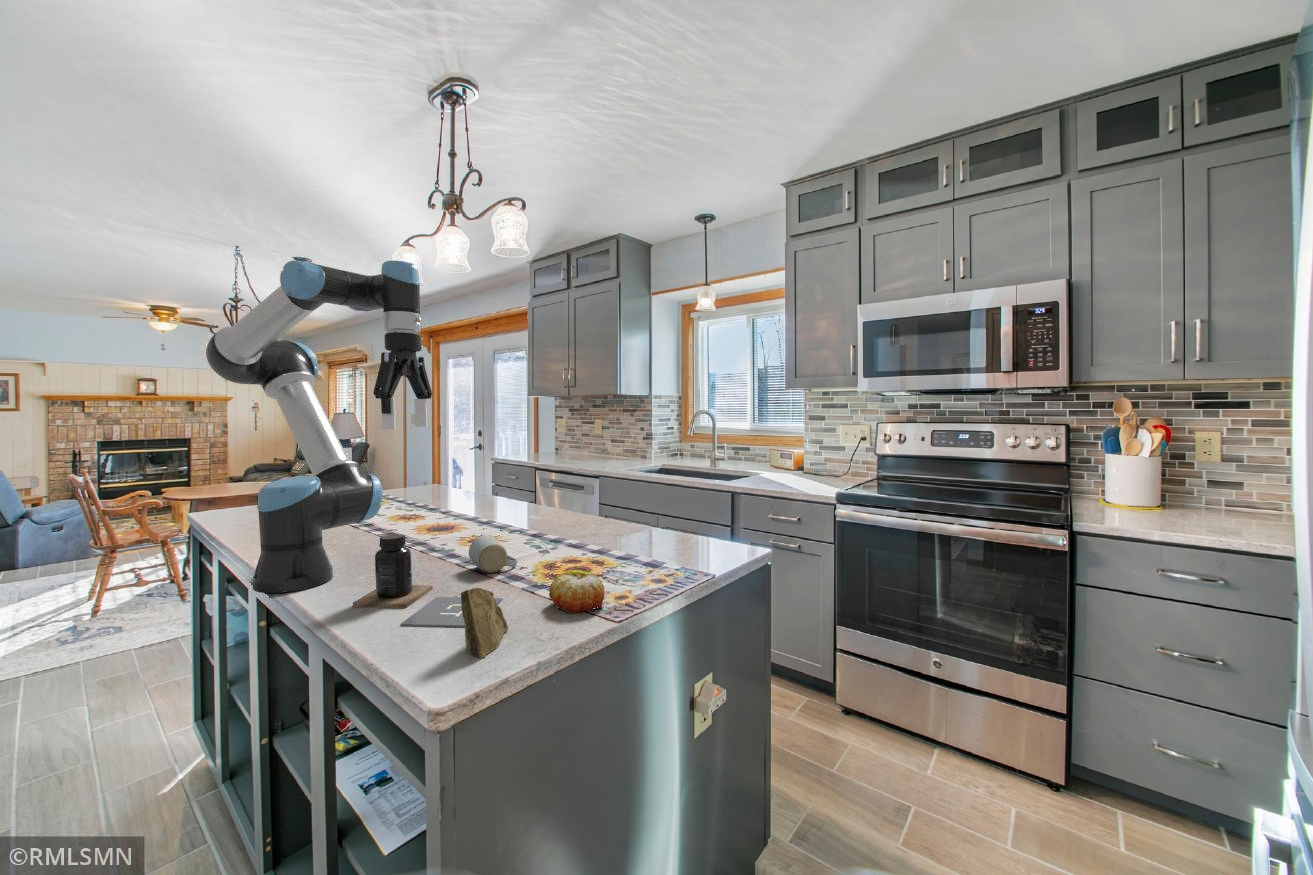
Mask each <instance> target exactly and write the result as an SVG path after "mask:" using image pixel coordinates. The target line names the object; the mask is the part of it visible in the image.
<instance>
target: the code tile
mask: <svg viewBox="0 0 1313 875" xmlns="http://www.w3.org/2000/svg"><path fill="white" fill-rule="evenodd" d="M494 599H495V601H496V603H497V606H499V604H500V603H501V602H502V601H503V600H504V598H502V597H494ZM400 626H402V627H406V626H407V627H409V626H410V627H441V628H442V627H445V628H446V627H447V628H448V627H449V628H450V627H451V628H465V624H464V618H463V614H462V608H461V596H460V597H459V596H457V597H456V596H435V597H434V598H433V599H431V600H430V601H429V602H428V603H426V604H425V605H424V606H422V607H421V608H420V609H418V610H417V611H416V612H414V613H413V614H411V615H410V616H409V617H407V619H405V620H404V621H402V622H401V623H400Z"/></svg>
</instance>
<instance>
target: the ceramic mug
mask: <svg viewBox="0 0 1313 875" xmlns="http://www.w3.org/2000/svg"><path fill="white" fill-rule="evenodd" d="M468 557H469V560H470V562H471V563H473V565H474V566H476V567H477V568H478V569H479V570H481V571H482V572H484V573H487V574H493V573H498V572H499V571H501V570H502V569H503V568H504V567H505V566H507V567H510V568H515V567H517V564H518V560H517V559H516V558H514V557H512V556H511V555H508V552H507V550H506V548H505V546H503V545H502V543H500V542H499V541H498V539H496V538H495V537H493V536H491V535H481V536H478V537H477V538H475V539H474V540H473V541H472V542H471V544H470V546H469V549H468Z"/></svg>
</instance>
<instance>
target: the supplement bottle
mask: <svg viewBox="0 0 1313 875" xmlns="http://www.w3.org/2000/svg"><path fill="white" fill-rule="evenodd" d="M406 542H407V541H406V535H405V534H402V533H399V534H397V533H394V534H387V535H382V536H380V537H379V544H378V545H379V548H380V549H379V550H377V552H376V553H375V554H374V567H375V569H374V570H375V572H374V573H375V589H376V594H377V596H378V597H380V598H396V597H401V596H404V595H407V594H409V593H410V592H411V591H412V585H413V572H412V552H411V549H410V548H408V547H406V546H405V545H406V544H407V543H406Z"/></svg>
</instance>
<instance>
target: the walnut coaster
mask: <svg viewBox="0 0 1313 875" xmlns="http://www.w3.org/2000/svg"><path fill="white" fill-rule="evenodd" d="M432 590H433V585H432V584H431V585H430V584H429V585H428V584H412V591H411V592H410V593H409V594H407V595H404V596H401V597H396V598H380V597H378V596H377V594H376V588H375V589H373V590H371V591H370V592H369V593H367V594H365V595H362V597H360V598H358V599H357V600H354V601H353V602H352V607H355V608H356V607H358V608H397V609H399V608H401V609H402V608H403V609H407V608H408V607H410V606H411V605H412V604H413V603H416V602H417V601H418V600H419V599H421V598H422V597H423V596H425V595H426V594H428V593H429V592H431V591H432Z"/></svg>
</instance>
